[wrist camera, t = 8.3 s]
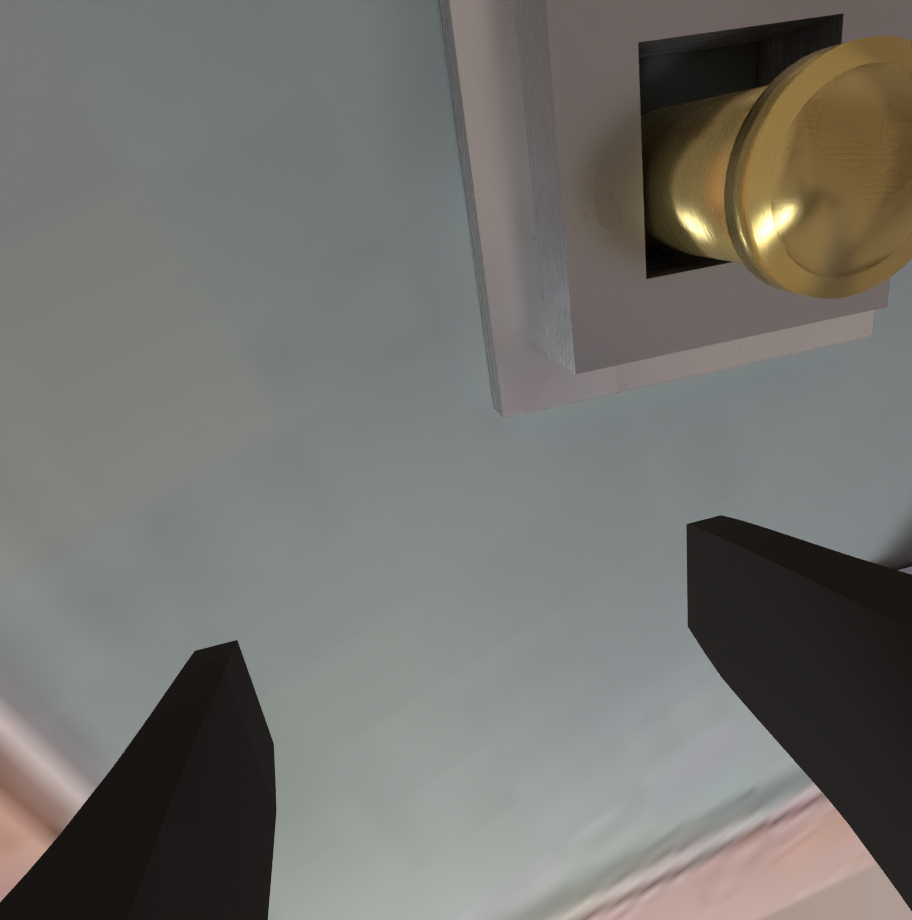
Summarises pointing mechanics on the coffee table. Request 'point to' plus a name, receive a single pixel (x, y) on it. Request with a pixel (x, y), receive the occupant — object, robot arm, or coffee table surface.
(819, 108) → the pin
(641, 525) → the coffee table surface
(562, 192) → the white stepped square fixture
